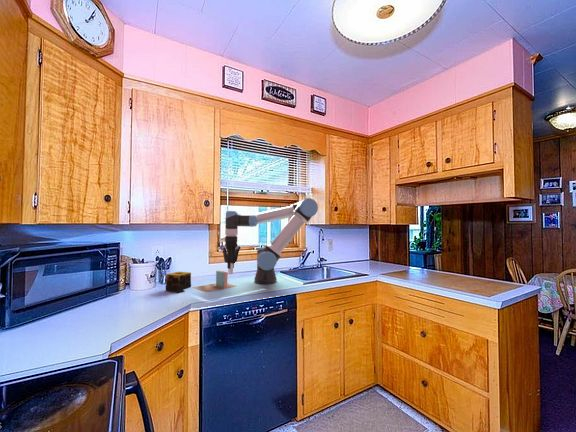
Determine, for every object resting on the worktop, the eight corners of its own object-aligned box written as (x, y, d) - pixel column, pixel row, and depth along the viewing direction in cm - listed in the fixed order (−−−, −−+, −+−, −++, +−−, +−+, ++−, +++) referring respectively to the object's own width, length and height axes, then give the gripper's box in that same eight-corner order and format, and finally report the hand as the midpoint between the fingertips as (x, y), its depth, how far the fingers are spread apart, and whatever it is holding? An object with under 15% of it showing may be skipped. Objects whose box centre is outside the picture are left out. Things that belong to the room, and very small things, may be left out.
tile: (218, 285, 163) (219, 270, 163) (227, 287, 157) (227, 272, 157) (215, 285, 161) (216, 270, 161) (224, 288, 155) (224, 272, 155)
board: (222, 283, 171) (222, 282, 171) (237, 288, 160) (237, 286, 160) (192, 289, 156) (192, 287, 156) (206, 294, 145) (206, 292, 145)
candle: (178, 293, 147) (178, 275, 147) (164, 291, 151) (165, 274, 151) (191, 289, 157) (191, 272, 157) (178, 287, 160) (178, 271, 161)
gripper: (236, 235, 172) (235, 271, 171) (218, 235, 162) (218, 274, 162) (243, 235, 167) (242, 273, 166) (225, 236, 157) (224, 276, 157)
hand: (230, 273), depth 164 cm, fingers closed
